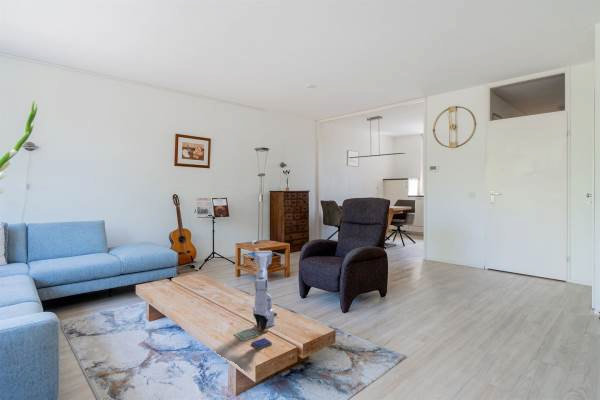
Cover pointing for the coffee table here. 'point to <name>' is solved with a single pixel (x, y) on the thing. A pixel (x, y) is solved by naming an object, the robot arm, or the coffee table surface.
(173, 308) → the coffee table surface
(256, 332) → the stamp
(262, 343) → the ink pad
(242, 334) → the board
